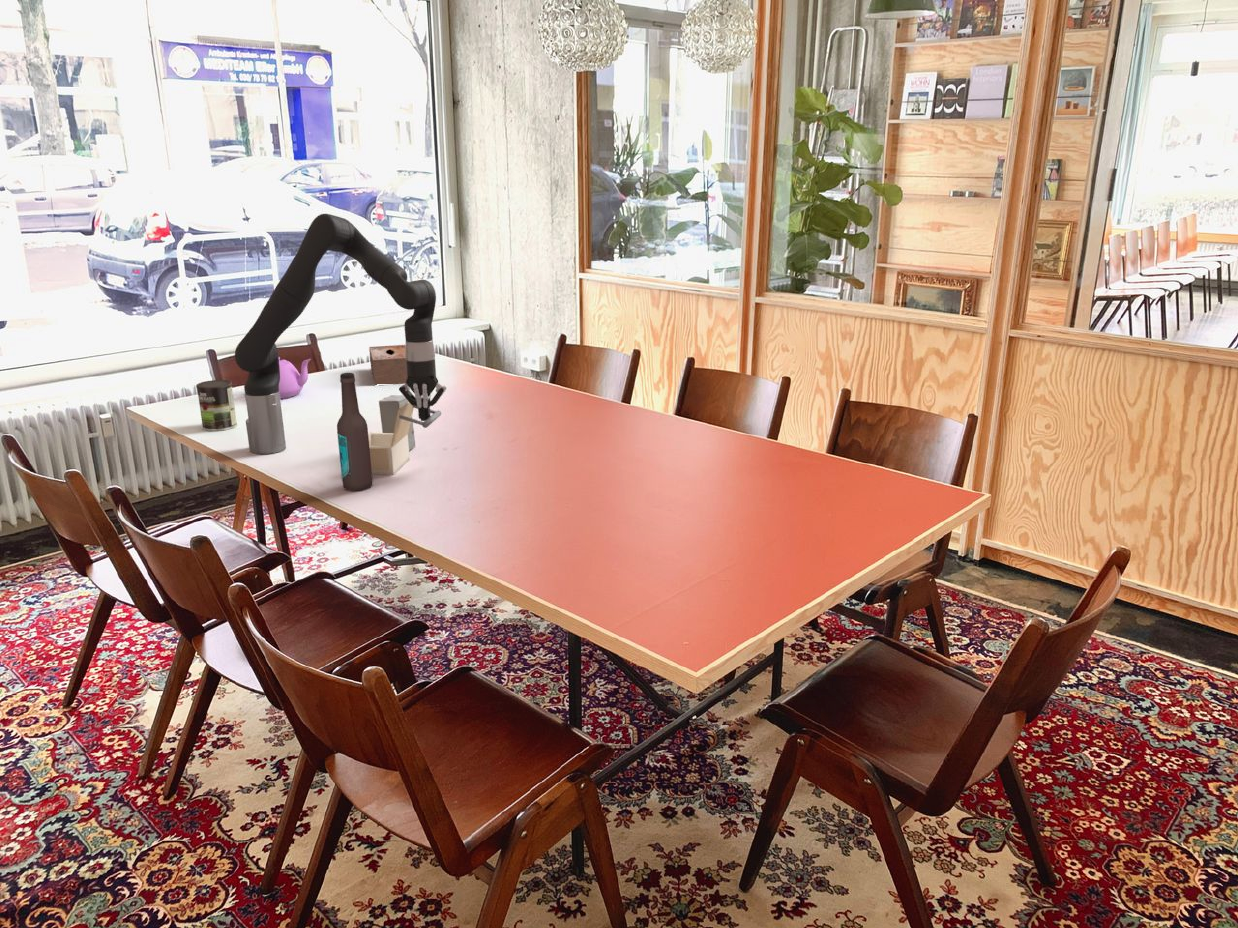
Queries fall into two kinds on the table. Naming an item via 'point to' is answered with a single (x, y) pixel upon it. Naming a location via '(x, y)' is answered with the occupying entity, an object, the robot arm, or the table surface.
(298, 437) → the table surface
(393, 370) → the tissue box cover
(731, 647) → the table surface
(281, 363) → the teapot
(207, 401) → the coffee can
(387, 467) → the carton
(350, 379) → the beer bottle
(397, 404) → the skincare box
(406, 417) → the flap
